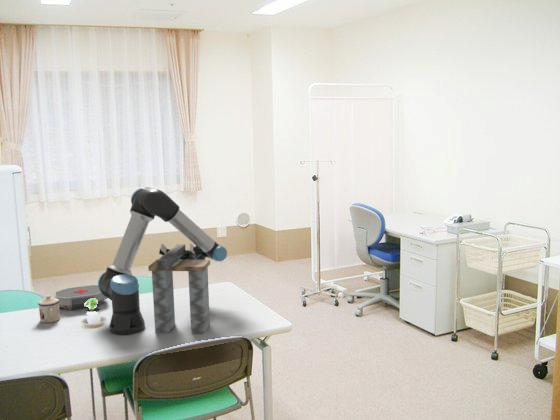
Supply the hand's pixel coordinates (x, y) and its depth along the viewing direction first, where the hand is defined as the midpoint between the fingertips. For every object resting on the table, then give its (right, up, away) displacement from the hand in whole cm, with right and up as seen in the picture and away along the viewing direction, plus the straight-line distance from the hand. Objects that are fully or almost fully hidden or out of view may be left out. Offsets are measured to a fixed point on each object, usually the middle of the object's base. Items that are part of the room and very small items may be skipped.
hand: (176, 246), depth 243 cm
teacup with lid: (-60, -35, +9) cm, 71 cm away
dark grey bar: (-1, -6, -6) cm, 9 cm away
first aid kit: (-53, -32, +30) cm, 69 cm away
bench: (+4, -36, -4) cm, 37 cm away
